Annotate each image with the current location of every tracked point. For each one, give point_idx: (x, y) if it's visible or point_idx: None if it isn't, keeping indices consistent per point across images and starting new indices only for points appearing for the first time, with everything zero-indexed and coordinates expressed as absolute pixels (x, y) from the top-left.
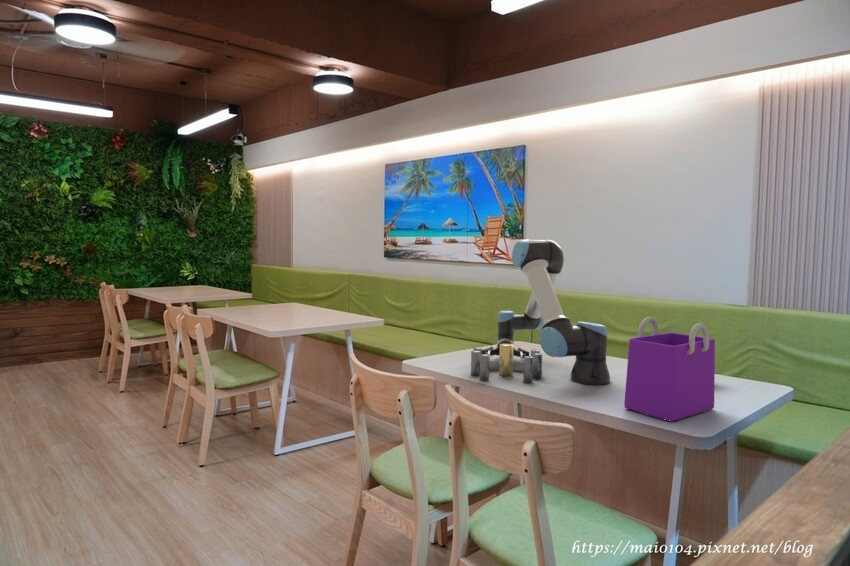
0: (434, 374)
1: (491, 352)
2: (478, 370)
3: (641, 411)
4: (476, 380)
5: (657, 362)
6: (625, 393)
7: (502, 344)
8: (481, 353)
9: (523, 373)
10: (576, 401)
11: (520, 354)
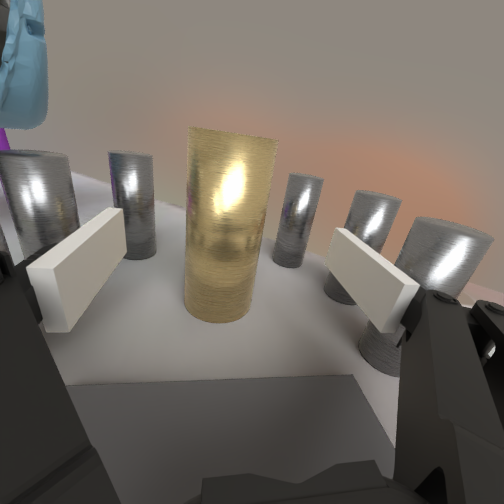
0: (464, 291)
1: (416, 340)
2: None
3: None
4: (306, 256)
5: None
6: (7, 142)
7: (261, 137)
8: (401, 252)
9: (154, 222)
10: (83, 188)
11: (67, 286)
